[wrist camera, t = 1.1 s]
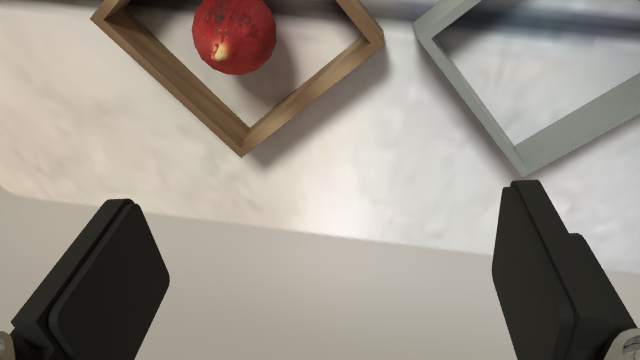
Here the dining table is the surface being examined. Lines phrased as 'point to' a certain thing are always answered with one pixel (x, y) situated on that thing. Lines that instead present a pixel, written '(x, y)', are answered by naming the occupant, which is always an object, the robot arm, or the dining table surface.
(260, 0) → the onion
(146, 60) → the walnut bin
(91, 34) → the dining table surface
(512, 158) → the grey bin
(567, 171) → the dining table surface
